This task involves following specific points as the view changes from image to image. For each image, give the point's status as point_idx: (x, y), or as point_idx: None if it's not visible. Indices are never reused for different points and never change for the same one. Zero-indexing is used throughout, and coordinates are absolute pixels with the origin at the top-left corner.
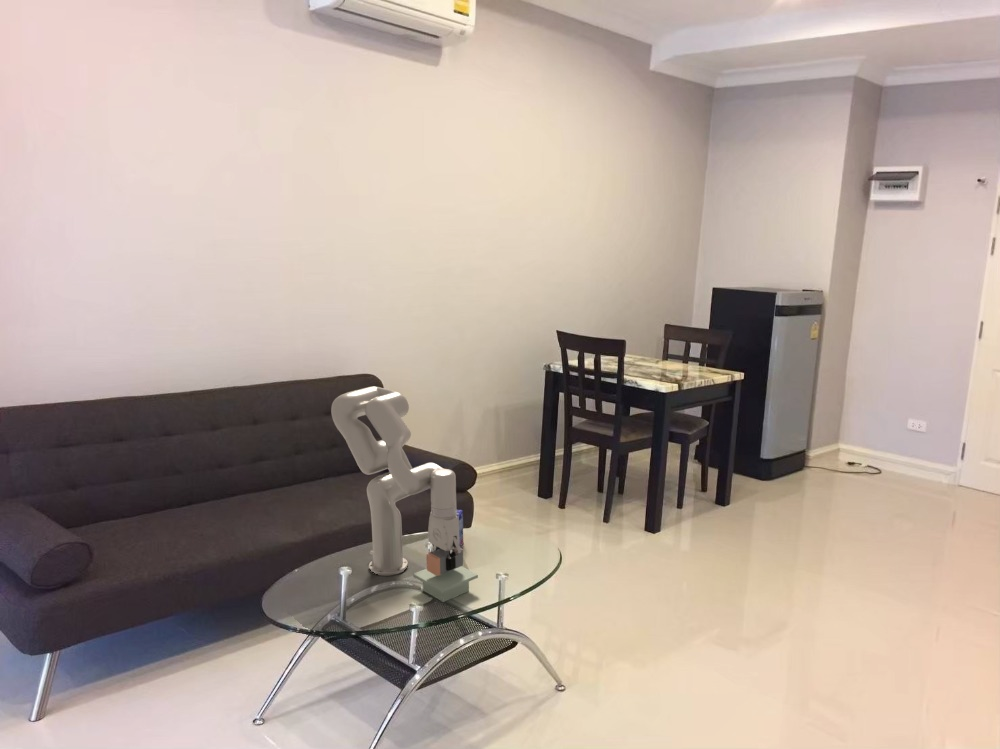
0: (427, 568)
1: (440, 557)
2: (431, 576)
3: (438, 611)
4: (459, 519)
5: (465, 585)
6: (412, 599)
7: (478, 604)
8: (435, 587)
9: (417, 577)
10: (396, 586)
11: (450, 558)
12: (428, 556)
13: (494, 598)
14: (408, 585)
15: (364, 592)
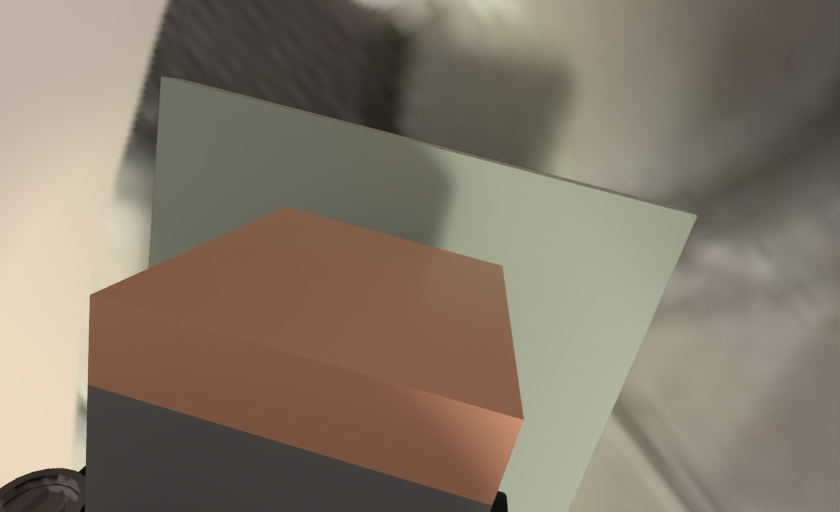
0: (490, 272)
1: (91, 405)
2: None
3: (235, 14)
4: None
5: None
6: (544, 46)
7: (99, 264)
8: (276, 104)
9: (608, 191)
10: (822, 154)
11: (25, 491)
12: (439, 365)
13: (84, 373)
14: (722, 225)
15: None
